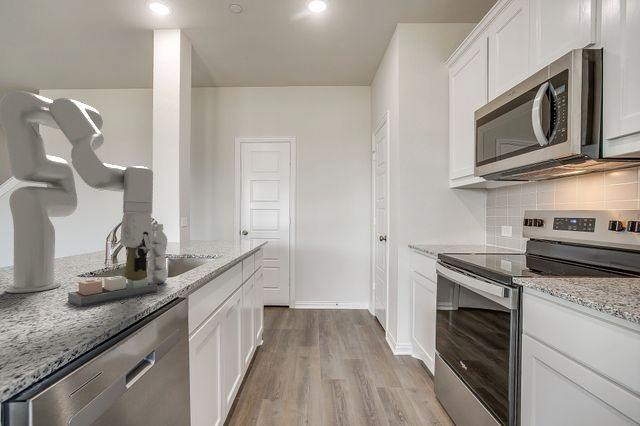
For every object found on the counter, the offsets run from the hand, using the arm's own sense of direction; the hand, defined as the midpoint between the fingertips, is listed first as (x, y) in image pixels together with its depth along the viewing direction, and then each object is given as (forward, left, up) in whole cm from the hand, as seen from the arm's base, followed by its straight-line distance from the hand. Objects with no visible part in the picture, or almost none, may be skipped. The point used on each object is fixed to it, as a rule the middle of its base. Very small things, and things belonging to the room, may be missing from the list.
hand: (136, 269), depth 94 cm
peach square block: (0, -12, -4) cm, 13 cm away
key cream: (0, -6, -4) cm, 7 cm away
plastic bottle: (-7, +10, -7) cm, 14 cm away
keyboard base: (0, -6, -7) cm, 9 cm away
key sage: (0, 0, -6) cm, 6 cm away
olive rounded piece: (0, 0, -2) cm, 2 cm away
